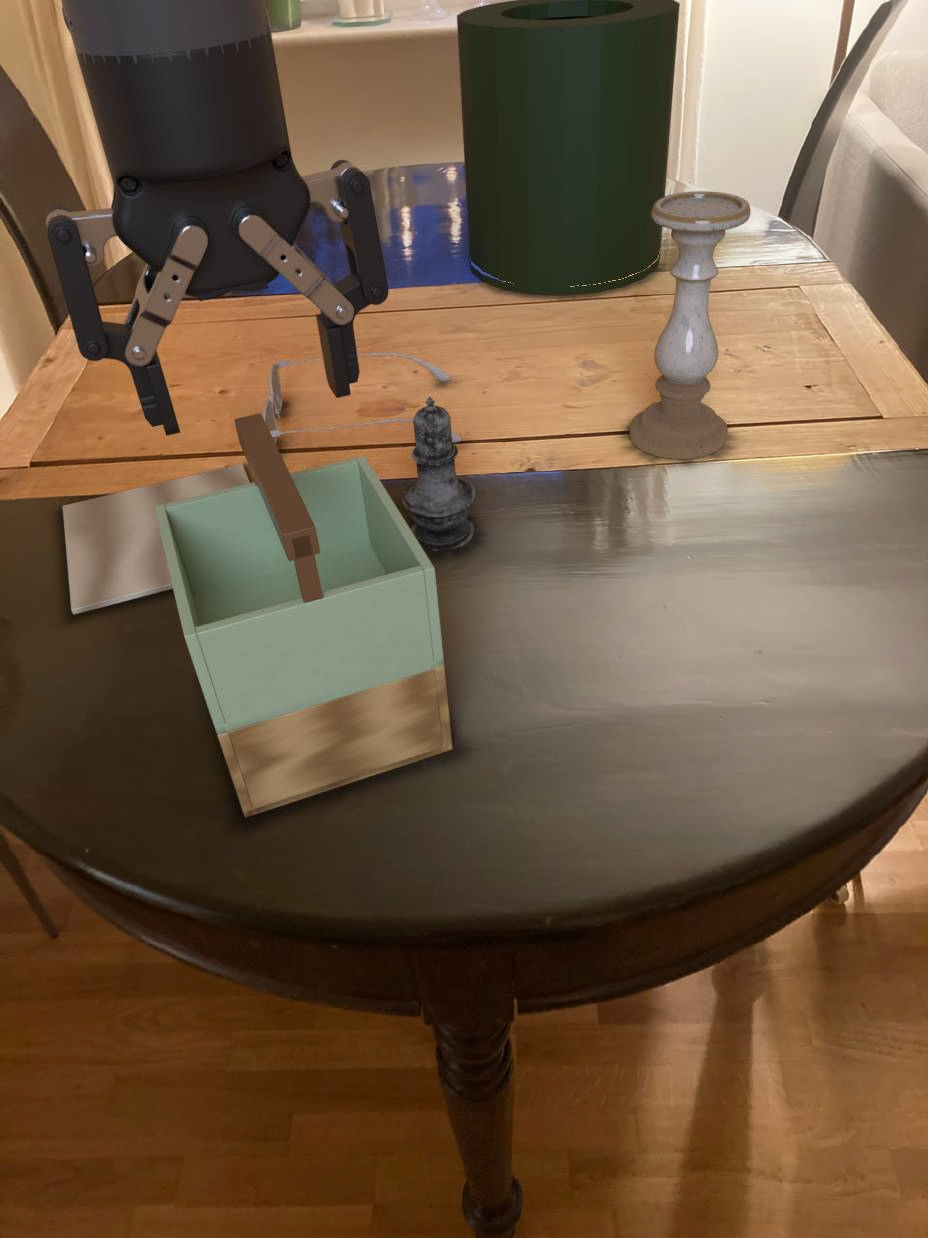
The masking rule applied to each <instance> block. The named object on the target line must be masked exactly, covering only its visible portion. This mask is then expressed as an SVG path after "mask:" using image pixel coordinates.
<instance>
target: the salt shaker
mask: <svg viewBox="0 0 928 1238" xmlns="http://www.w3.org/2000/svg"><path fill="white" fill-rule="evenodd" d="M435 403H436V401H435V400H434V399H433V397H431V396H428V398H426V401H425V404H426V405H425V406H423V407H421V408H420V409H418V410H417V411H416V413H415V414H414V416H413V419H412V420H413V423H412V424H413V434H414V435H413V436H414V445H415V447H414V448H413V449H412V452H411V458H412V460H413V461H414V462H415V463H416V474H417V479H416V481H414V482H412V483H411V484H409V485H408V486H407V487H406V488H405V489H404V490H403V492H402V494H401V503H402V506H403V507H404V508H405V509H406V511H407V513H408V515H409V517H410V519H411V520H412V522H413V525H412V526H411V527H410V529H411V531H412V533H413V534H414V536H415V537H416V539H417V541H418V542H419V544H420V545H421V547H422V549H423V550H424V551H425V550H426V551H428V552H429V551H431V552H448V551H452V550H456V549H458V548H461V547H464V546H465V545H466V544H468V543H469V542H470V541H471V539H472V538H473V537H474V535H475V526H474V525H473V523H472V522H471V520H469V519H468V518H469V515H470V512H471V510H472V506H473V503H474V502H475V499H476V497H477V495H476V489H475V488H474V486H473V484H471V483H470V482H469V481H467V480H466V479H463V478H461V477H458V476H457V473H456V461H455V459H456V458H457V456H458V454H459V450H458V447H457V446H456V445H455V444H454V443H452V433H451V431H452V423H451V422H452V420H451V415H450V412H448V410H447V409H445V407H443V406H439V405H436V404H435Z"/></svg>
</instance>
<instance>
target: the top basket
mask: <svg viewBox="0 0 928 1238" xmlns="http://www.w3.org/2000/svg"><path fill="white" fill-rule="evenodd" d="M233 421H234V425H235V429H236V433H237V438H238V442H239V445H240V447H241V450H242V452H243V455H244V458H245V459H246V462H247V464H248V467H249V469H250V472H251V475H252V478H253V481H252V482H250V483H249V484H244V485H240V486H236V487H232V488H228V489H224V490H220V491H215V492H211V493H207V494H203V495H199V496H195V497H190V498H186V499H182V500H178V501H174V502H170V503H166V504H162V505H158V506H155V507H154V509H155V513H156V517H157V522H158V526H159V530H160V535H161V539H162V543H163V547H164V552H165V556H166V560H167V565H168V569H169V573H170V578H171V582H172V586H173V589H172V590H173V594H174V598H175V603H176V607H177V608H176V609H177V612H178V616H179V620H180V626H181V630H182V633H183V637H184V638H183V639H185V643H186V646H187V650H188V653H189V655H190V659H191V662H192V664H193V667H194V671H195V673H196V676H197V680H198V682H199V685H200V688H201V691H202V694H203V697H204V700H205V703H206V706H207V709H208V712H209V715H210V719H211V721H212V724H213V727H214V730H215V733H216V735H220V734H223V733H227V732H230V731H233V730H236V729H240V728H243V727H246V726H250V725H253V724H256V723H259V722H263V721H266V720H269V719H273V718H276V717H279V716H282V715H286V714H289V713H292V712H295V711H299V710H302V709H305V708H309V707H312V706H315V705H318V704H322V703H325V702H328V701H331V700H335V699H338V698H341V697H345V696H348V695H351V694H354V693H358V692H361V691H364V690H368V689H371V688H374V687H377V686H381V685H384V684H387V683H390V682H394V681H397V680H400V679H404V678H407V677H410V676H413V675H417V674H420V673H423V672H427V671H430V670H433V669H436V668H440V667H443V666H444V667H445V658H444V657H445V656H444V649H443V639H442V637H443V636H442V627H441V617H440V616H441V615H440V607H439V599H438V587H437V577H436V567H435V566H434V565H433V563H432V561H431V560H430V558H429V556H428V555H427V553H426V552H425V549H422V547H421V545H420V544H419V542H418V541H417V539H416V537H415V536H414V534H413V533H412V531H411V527H410V526H409V524H408V522H407V521H406V520H405V518H404V516H403V514H402V513H401V511H400V510H399V509H398V507H397V505H396V503H395V502H394V500H393V499H392V497H391V495H390V494H389V493H388V491H387V489H386V487H385V486H384V484H383V483H382V481H381V480H380V478H379V476H378V475H377V473H376V471H375V470H374V468H373V467H372V465H371V464H370V462H369V461H368V458H367V457H366V455H362V456H358V457H353V458H349V459H344V460H341V461H337V462H332V463H327V464H324V465H319V466H316V467H311V468H307V469H303V470H299V471H295V472H291V473H290V471H289V469H288V466H287V465H286V463H285V460H284V458H283V456H282V453H281V452H280V450H279V448H278V446H277V444H276V443H275V441H274V439H273V437H272V435H271V433H270V431H269V429H268V427H267V425H266V423H265V420H264V418H263V413H261V412H258V413H255V414H251V415H247V416H242V417H237V418H234V420H233Z"/></svg>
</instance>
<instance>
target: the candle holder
mask: <svg viewBox="0 0 928 1238" xmlns="http://www.w3.org/2000/svg"><path fill="white" fill-rule="evenodd" d="M751 210H752V209H751V205H750V203H749V202H748V200H746V199H745V198H743V197H741V196H738V195H737V194H736V195H735V194H731V193H728V192H727V193H726V192H721V191H708V190H697V191H695V190H694V191H684V192H677V193H672V194H669V195H665V197H662V198H660V199H658V200H657V201H656V202H655V203H654V205H653V207H652V210H651V218H652V220H653V221H654V222H655V223H657V224H658V225H660V226H662V228H666V229H669V230H671V232H670V236H671V238H672V240H673V241H674V242H675V244H676V245H677V247H678V252H679V253H678V258H677V259H676V261H675V262H674V264H673V265H672V267H671V268H670V271H669V273H670V275H671V277H673V278H674V279H675V291H674V299H673V305H672V306H673V307H672V308H671V309H672V310H671V313H670V316H669V318H668V321H667V323H666V325H665V326H664V328H663V330H662V332H661V333H660V335H659V337H658V340H657V342H656V344H655V347H654V351H653V361H654V364H655V367H656V369H657V370H658V372H659V373H660V376H659V377H658V378H657V379H656V380H655V383H654V385H655V386H654V387H655V390H656V391H657V393H658V394H659V397H660V399H661V400H659V401H656V402H654V403H651V404H650V405H648V406H647V407H646V408H645V409H644V410H643V411H640V412H639V413H637V414H636V415H635V416H634V417H633V418H632V420H631V422H630V424H629V438H630V440H631V442H632V444H633V445H634V446H636V447H637V448H638V449H639V450H641V451H643V452H646V453H647V454H649V455H651V456H652V455H653V456H655V457H659V458H665V459H670V460H671V459H672V460H690V459H698V458H702V457H703V458H704V457H706V456H709V455H712V454H714V453H716V452H717V451H719V450H721V448H723V446H724V445H725V443H726V442H727V438H728V433H729V431H728V429H729V428H728V426H727V423H726V421H725V420H724V419H723V418H722V417H721V416H720V415H718V414H717V412H715V410H714V409H713V408H711V407H710V406H709V405H707V404H705V403H702V400H703V399H704V398H705V396H706V395H707V394H708V393H709V392H710V390H711V387H712V386H711V382H710V380H709V379H708V377H707V376H708V375H709V374H710V373H711V372H712V371H713V370H714V368H715V366H716V364H717V362H718V358H719V347H718V342H717V341H718V340H717V338H716V335H715V332H714V329H713V327H712V323H711V319H710V314H709V302H710V300H709V299H710V288H711V282H712V279H714V278H716V277H718V276H719V268H718V267H717V265H716V263H715V261H714V260H715V259H714V251H715V249H716V247H717V245H719V243H720V242H722V240H723V239H724V238H725V237H726V231H727V230H730V229H731V230H732V229H734V228H737V227H740V226H742V225H744V224H745V223H747V222H748V221H749V219H750V216H751Z"/></svg>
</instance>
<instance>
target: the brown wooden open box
mask: <svg viewBox="0 0 928 1238" xmlns="http://www.w3.org/2000/svg"><path fill="white" fill-rule="evenodd" d="M447 689H448V688H447V679H446V668H445V665H444V666H443V667H440V668H436V669H433V670H430V671H427V672H423V673H420V674H417V675H413V676H410V677H407V678H404V679H400V680H397V681H394V682H390V683H387V684H384V685H381V686H377V687H374V688H371V689H368V690H364V691H361V692H358V693H354V694H351V695H348V696H345V697H341V698H338V699H335V700H331V701H328V702H325V703H322V704H318V705H315V706H312V707H309V708H305V709H302V710H299V711H295V712H292V713H289V714H286V715H282V716H279V717H276V718H273V719H269V720H266V721H263V722H259V723H256V724H253V725H250V726H246V727H243V728H240V729H236V730H233V731H230V732H227V733H223V734H220V735H217V734H216V735H217V739H218V742H219V745H220V748H221V750H222V751H221V752H222V755H223V757H224V760H225V762H226V765H227V768H228V771H229V775H230V777H231V781H232V783H233V787H234V789H235V792H236V796H237V798H238V802H239V805H240V807H241V810H242V813H243V817H244V818H248V817H251V816H254V815H258V814H260V813H263V812H267V811H269V810H273V809H277V808H279V807H283V806H285V805H288V804H291V803H294V802H297V801H300V800H304V799H307V798H309V797H312V796H315V795H319V794H321V793H324V792H327V791H331V790H333V789H336V788H339V787H342V786H346V785H348V784H352V783H355V782H358V781H362V780H364V779H367V778H369V777H373V776H376V775H379V774H383V773H385V772H388V771H391V770H394V769H398V768H400V767H403V766H406V765H409V764H413V763H416V762H418V761H421V760H422V761H423V760H424V759H428V758H431V757H434V756H437V755H440V754H442V753H443V754H444V753H446V752H448V751H452V750H454V749H453V740H452V727H451V719H450V718H451V717H450V708H449V699H448V690H447Z"/></svg>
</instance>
